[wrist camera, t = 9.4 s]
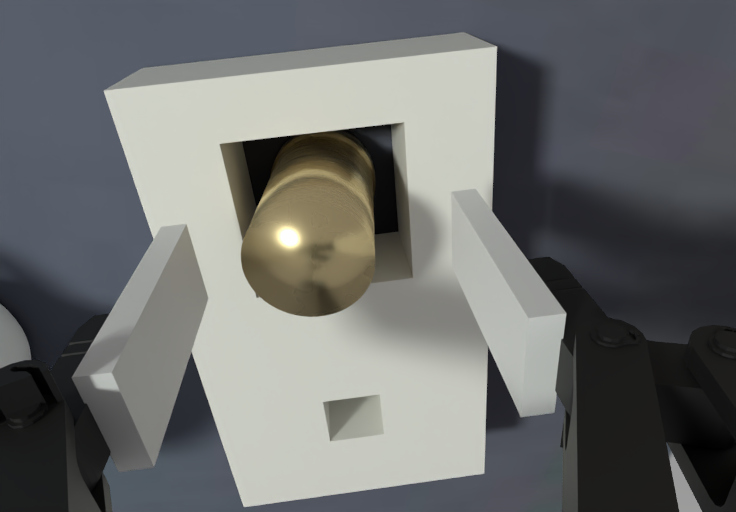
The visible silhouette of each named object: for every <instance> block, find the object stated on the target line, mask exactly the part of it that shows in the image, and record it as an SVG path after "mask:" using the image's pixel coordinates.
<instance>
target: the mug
mask: <svg viewBox="0 0 736 512" xmlns="http://www.w3.org/2000/svg"><path fill="white" fill-rule="evenodd" d="M24 360H31V353H30V346H29V343H28V340H27V337H26V335H25V333H24V331H23V329H22V328H21V326H20V325H19V323H18V322H17V320H16V319H15V318H14V317H13V316H12V314H11V313H10V312H9V311H8V310H7V309H6V308H5V307H4V306H3V305H1V304H0V368H2V367H5V366H7V365H9V364H12V363H16V362H20V361H24Z"/></svg>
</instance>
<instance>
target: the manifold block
mask: <svg viewBox="0 0 736 512" xmlns="http://www.w3.org/2000/svg"><path fill="white" fill-rule="evenodd" d="M496 64H497V46H495V45H492V44H490V43H488V42H485V41H483V40H481V39H478V38H476V37H474V36H471V35H469V34H467V33H464V32H463V33H454V34H445V35H436V36H427V37H418V38H409V39H400V40H391V41H382V42H373V43H364V44H355V45H346V46H337V47H328V48H319V49H310V50H301V51H292V52H283V53H274V54H265V55H256V56H247V57H238V58H229V59H220V60H211V61H202V62H193V63H184V64H175V65H166V66H157V67H148V68H142V69H140V70H138V71H137V72H135V73H133V74H131V75H130V76H128V77H126V78H125V79H123V80H121V81H119V82H118V83H116V84H114V85H113V86H111V87H109V88H107V89H106V90H104V93H105V96H106V99H107V102H108V105H109V108H110V111H111V114H112V117H113V120H114V123H115V126H116V129H117V132H118V135H119V138H120V141H121V144H122V147H123V150H124V153H125V156H126V158H127V161H128V164H129V167H130V170H131V173H132V176H133V179H134V182H135V185H136V188H137V191H138V194H139V197H140V200H141V203H142V206H143V209H144V212H145V215H146V218H147V221H148V224H149V227H150V230H151V233H152V236H153V239H154V238H155V236H156V235H157V233H158V231H159V230H160V228H161V227H164V226H172V225H181V224H187V227H188V231H189V234H190V238H191V241H192V244H193V248H194V251H195V254H196V258H197V261H198V265H199V268H200V271H201V275H202V278H203V281H204V285H205V288H206V292H207V295H208V298H209V299H208V302H207V305H206V308H205V311H204V314H203V317H202V320H201V323H200V326H199V330H198V333H197V336H196V339H195V342H194V345H193V348H192V351H191V352H192V354H193V357H194V360H195V363H196V366H197V369H198V372H199V375H200V378H201V381H202V384H203V387H204V390H205V393H206V396H207V399H208V402H209V405H210V408H211V411H212V414H213V417H214V420H215V423H216V426H217V429H218V432H219V435H220V438H221V441H222V444H223V447H224V450H225V452H226V455H227V458H228V461H229V464H230V467H231V470H232V473H233V476H234V479H235V482H236V485H237V488H238V491H239V494H240V497H241V500H242V503H243V506H244V507H248V506H255V505H263V504H270V503H277V502H284V501H291V500H298V499H305V498H313V497H320V496H327V495H334V494H341V493H348V492H355V491H363V490H370V489H377V488H384V487H391V486H398V485H405V484H413V483H420V482H427V481H434V480H441V479H448V478H455V477H463V476H470V475H477V474H484V464H485V431H486V397H487V364H488V344H487V342H486V340H485V338H484V336H483V334H482V331H481V329H480V327H479V325H478V323H477V321H476V318H475V316H474V314H473V312H472V310H471V307H470V305H469V303H468V301H467V299H466V297H465V294H464V292H463V290H462V288H461V286H460V283H459V281H458V279H457V277H456V275H455V273H454V270H453V268H452V208H451V192H453V191H461V190H469V189H476V190H477V191H478V193H479V194H480V195H481V197H482V198H483V200H484V201H485V202H486V204H487V205H488V206H489V208H490V209H491V211H492V198H493V164H494V131H495V98H496ZM385 124H391V133H392V147H393V161H394V176H395V190H396V204H397V218H398V232H391V233H383V234H375V235H374V236H375V271H374V275H373V279H372V281H371V283H370V285H369V287H368V289H367V290H366V292H365V293H364V294H363V295H362V297H361V298H360V299H359V300H357V301H356V302H355V303H354V304H352V305H351V306H349V307H348V308H346V309H344V310H342V311H340V312H337V313H334V314H330V315H326V316H319V317H306V316H298V315H293V314H289V313H286V312H283V311H281V310H279V309H277V308H275V307H273V306H271V305H269V304H268V303H267V302H265V301H264V300H263V299H262V298H260V297H259V296H258V295H257V294H256V293H255V291H254V290H253V289H252V288H251V286H250V285H249V283H248V281H247V279H246V277H245V275H244V272H243V269H242V264H241V247H242V243H243V240H244V237H245V234H246V232H247V230H248V228H249V225H250V223H251V221H252V218H253V216H254V214H255V211H256V209H257V208H256V203H255V198H254V194H253V189H252V185H251V180H250V175H249V171H248V166H247V162H246V157H245V152H244V148H243V143H242V141H248V140H256V139H265V138H274V137H282V136H291V135H299V134H308V133H317V132H325V131H334V130H342V129H351V128H360V127H368V126H377V125H385Z"/></svg>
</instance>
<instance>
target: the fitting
mask: <svg viewBox="0 0 736 512" xmlns="http://www.w3.org/2000/svg"><path fill="white" fill-rule="evenodd" d="M374 194H375V168H374V164H373V160H372V158H371V156H370V153H369V152H368V150H367V149H366V147H365V146H364V145H363V144H362V142H360V141H359V140H358V139H357V138H356V137H355V136H353V135H352V134H350V133H348V132H346V131H344V130H334V131H325V132H317V133H308V134H299V135H292V136H291V137H290V138H289V139H288V140H287V141H286V142H285V143H284V144H283V145H282V147H281V148H280V150H279V152H278V154H277V156H276V159H275V161H274V163H273V166H272V169H271V174H270V179H269V181H268V184H267V186H266V188H265V191H264V193H263V195H262V197H261V200H260V202H259V204H258V207H257V209H256V211H255V214H254V216H253V218H252V221H251V223H250V225H249V228H248V230H247V232H246V234H245V237H244V240H243V243H242V247H241V264H242V269H243V272H244V275H245V277H246V279H247V281H248V283H249V285H250V286H251V288H252V289H253V290H254V291H255V293H256V294H257V295H258V296H259V297H260V298H262V299H263V300H264V301H265V302H267V303H268V304H269V305H271V306H273V307H275V308H277V309H279V310H281V311H283V312H286V313H289V314H293V315H298V316H306V317H319V316H326V315H330V314H334V313H337V312H340V311H342V310H344V309H346V308H348V307H349V306H351V305H352V304H354V303H355V302H356V301H357V300H359V299H360V298H361V297H362V295H363V294H364V293H365V292H366V290H367V289H368V287H369V285H370V283H371V281H372V279H373V275H374V271H375V236H374V202H373V198H374Z"/></svg>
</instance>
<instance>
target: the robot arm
mask: <svg viewBox="0 0 736 512" xmlns="http://www.w3.org/2000/svg"><path fill="white" fill-rule="evenodd" d="M451 208H452V268H453V270H454V273H455V275H456V277H457V279H458V281H459V283H460V286H461V288H462V290H463V292H464V294H465V297H466V299H467V301H468V303H469V305H470V307H471V310H472V312H473V314H474V316H475V318H476V321H477V323H478V325H479V327H480V329H481V331H482V334H483V336H484V338H485V340H486V342H487V344H488V347H489V349H490V351H491V353H492V355H493V358H494V360H495V362H496V364H497V366H498V368H499V371H500V373H501V375H502V377H503V379H504V382H505V384H506V386H507V388H508V390H509V392H510V395H511V397H512V399H513V401H514V403H515V406H516V408H517V410H518V412H519V414H520V416H521V417H526V416H534V415H541V414H548V413H554V411H555V403H556V395H558V397H559V398H560V400H561V402H562V404H563V405H564V407H565V416H564V423H563V431H562V438H561V445H560V447H563V491H562V512H679V509H678V503H677V499H676V493H675V487H674V482H673V477H672V471H671V466H670V461H669V456H668V450H667V445H666V442H667V443H668V445H669V447H670V449H671V451H672V453H673V455H674V457H675V459H676V461H677V463H678V464H679V467H680V469H681V470H682V472H683V474H684V476H685V478H686V480H687V482H688V484H689V486H690V488H691V490H692V492H693V494H694V496H695V498H696V500H697V502H698V503H699V506H700V508H701V510H702V512H736V329H734V328H731V327H727V326H715V325H711V326H704V327H700V328H698V329H696V330H694V331H693V332H692V334H691V336H690V339H689V343H688V344H676V343H664V342H655V341H648V340H646V339H645V337H644V335H643V333H642V332H640V331H639V330H638V329H637V328H636V327H634V326H632V325H630V324H628V323H626V322H624V321H621V320H616V319H612V318H608V317H607V316H606V315H605V313H604V312H603V311H602V310H601V309H600V307H599V306H598V305H597V304H596V303H595V301H594V300H593V299H592V298H591V297H590V295H589V294H588V293H587V292H586V291H585V289H582V286H581V285H580V284H579V282H578V281H577V280H576V279H574V276H573V275H572V274H571V273H570V272H569V270H568V269H567V268H566V267H565V266H564V265H562V264H561V263H559V262H557V261H555V260H553V259H552V258H550V257H543V258H535V259H526V257H525V256H524V254H523V253H522V252H521V250H520V249H519V248H518V246H517V245H516V243H515V242H514V241H513V239H512V238H511V237H510V235H509V234H508V232H507V231H506V230H505V228H504V227H503V226H502V224H501V223H500V222H499V220H498V219H497V217H496V216H495V215H494V213H493V212H492V211H491V209H490V208H489V206H488V205H487V204H486V202H485V201H484V200H483V198H482V197H481V195H480V194H479V193H478V191H477V190H476V189H469V190H461V191H453V192H451ZM208 299H209V298H208V295H207V292H206V288H205V285H204V281H203V278H202V275H201V271H200V268H199V265H198V261H197V258H196V254H195V251H194V248H193V244H192V241H191V238H190V234H189V231H188V227H187V224H181V225H172V226H164V227H161V228H160V230H159V231H158V233H157V235H156V236H155V238H154V240H153V241H152V243H151V245H150V247H149V248H148V250H147V252H146V253H145V255H144V257H143V258H142V260H141V262H140V263H139V265H138V267H137V268H136V270H135V272H134V273H133V275H132V277H131V278H130V280H129V282H128V284H127V285H126V287H125V289H124V290H123V292H122V294H121V295H120V297H119V299H118V300H117V302H116V304H115V305H114V307H113V309H112V310H111V312H110V314H103V315H95V316H93V317H92V318H91V319H90V320H89V321H87V322H86V323H85V324H84V325H83V326H81V327H80V328H79V329H78V330H77V332H76V333H75V335H74V336H73V338H72V339H71V341H70V342H69V346H67V347H66V348H65V350H64V352H63V353H62V357H60V358H59V359H58V361H57V362H56V364H55V365H54V367H53V368H52V370H51V371H49V369H48V367H47V365H46V363H44V362H41V361H39V360H24V361H20V362H16V363H12V364H9V365H7V366H5V367H2V368H0V512H112V504H111V496H110V488H109V484H108V482H107V480H106V478H105V476H104V474H103V470H104V467H105V465H106V463H107V460H108V458H109V455H111V457H112V459H113V461H114V463H115V465H116V467H117V469H118V471H119V472H124V471H131V470H138V469H146V468H153V467H154V466H155V463H156V460H157V457H158V454H159V451H160V448H161V444H162V441H163V438H164V435H165V432H166V429H167V426H168V423H169V420H170V417H171V413H172V410H173V407H174V404H175V401H176V398H177V395H178V392H179V389H180V385H181V382H182V379H183V376H184V373H185V370H186V367H187V364H188V361H189V358H190V354H191V351H192V348H193V345H194V342H195V339H196V336H197V333H198V330H199V326H200V323H201V320H202V317H203V314H204V311H205V308H206V305H207V302H208Z"/></svg>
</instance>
